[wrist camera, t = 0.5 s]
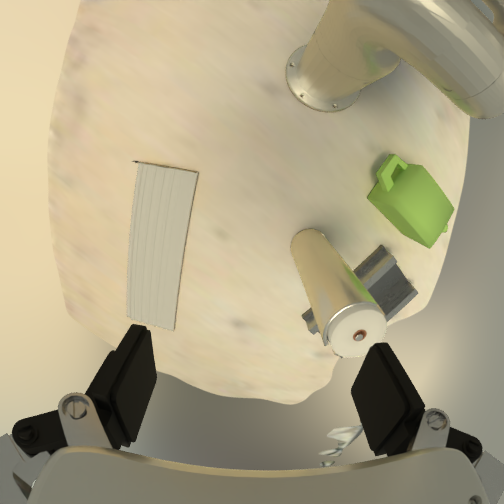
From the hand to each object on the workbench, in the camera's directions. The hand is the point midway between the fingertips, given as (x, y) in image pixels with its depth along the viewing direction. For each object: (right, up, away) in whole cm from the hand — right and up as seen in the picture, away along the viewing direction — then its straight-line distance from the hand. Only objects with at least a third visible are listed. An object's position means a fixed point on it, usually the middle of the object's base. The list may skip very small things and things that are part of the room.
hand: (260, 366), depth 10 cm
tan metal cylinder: (+9, +6, +35) cm, 37 cm away
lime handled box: (+27, +14, +32) cm, 44 cm away
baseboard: (-18, +5, +36) cm, 41 cm away
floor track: (+21, -5, +39) cm, 45 cm away
